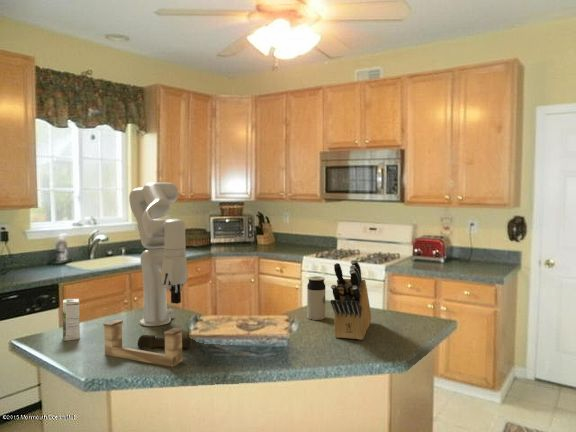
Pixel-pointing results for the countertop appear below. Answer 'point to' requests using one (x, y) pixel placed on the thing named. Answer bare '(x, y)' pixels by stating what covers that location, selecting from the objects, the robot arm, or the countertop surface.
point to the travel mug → (316, 298)
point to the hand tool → (159, 342)
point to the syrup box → (71, 319)
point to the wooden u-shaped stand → (115, 349)
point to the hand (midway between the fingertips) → (176, 302)
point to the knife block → (350, 304)
